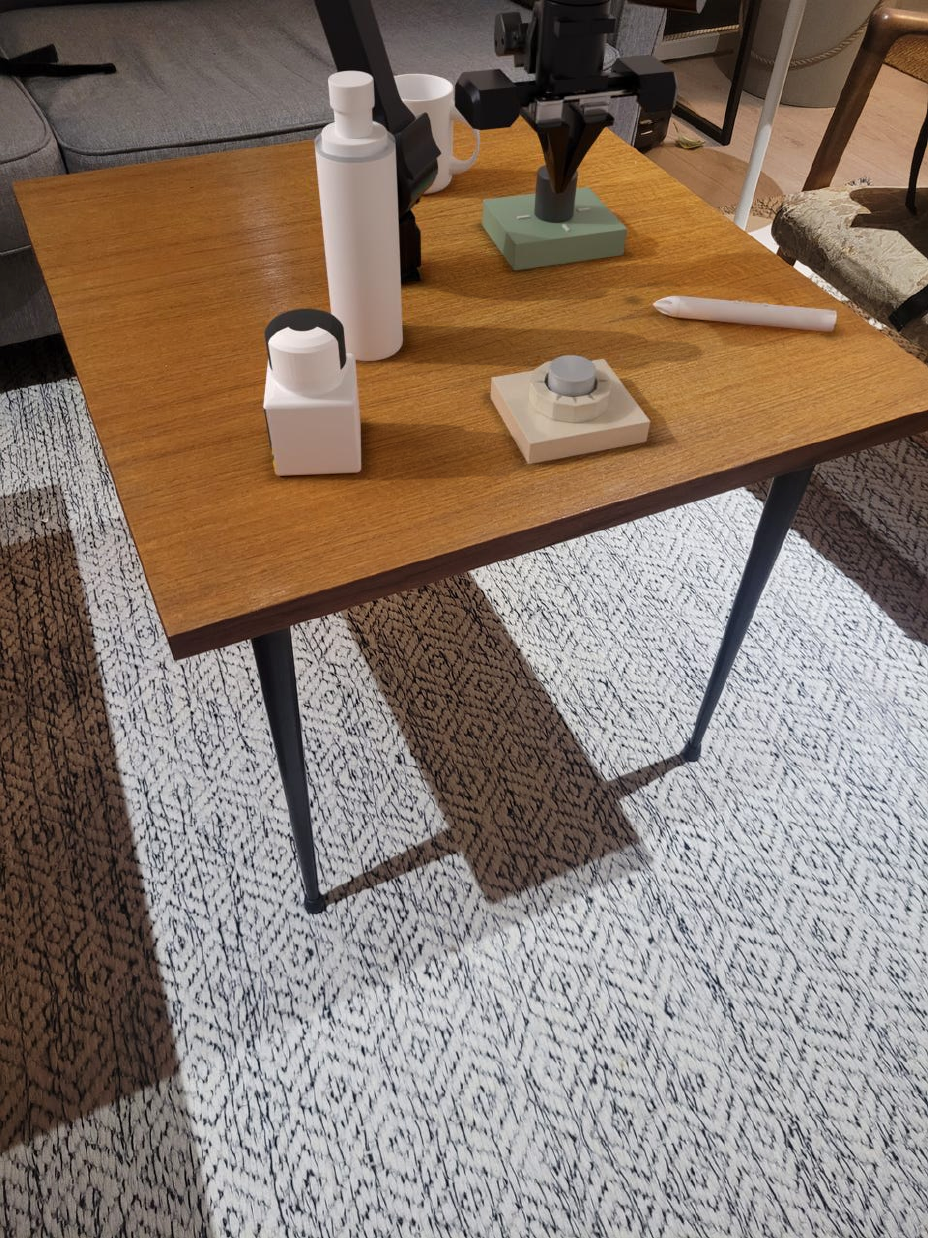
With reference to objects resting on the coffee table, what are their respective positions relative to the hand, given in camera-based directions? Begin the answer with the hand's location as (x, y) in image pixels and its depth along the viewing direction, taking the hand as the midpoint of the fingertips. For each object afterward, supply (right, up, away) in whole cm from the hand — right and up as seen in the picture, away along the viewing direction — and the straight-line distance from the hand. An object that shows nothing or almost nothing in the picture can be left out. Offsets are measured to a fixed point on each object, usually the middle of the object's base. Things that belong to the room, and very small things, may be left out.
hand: (557, 191), depth 85 cm
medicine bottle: (-21, -25, -7) cm, 34 cm away
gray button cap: (0, -20, -6) cm, 20 cm away
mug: (-13, +14, +29) cm, 34 cm away
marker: (+19, -10, +8) cm, 23 cm away
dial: (+1, +5, +17) cm, 18 cm away
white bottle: (-18, -13, +4) cm, 23 cm away
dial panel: (+1, +3, +19) cm, 19 cm away
